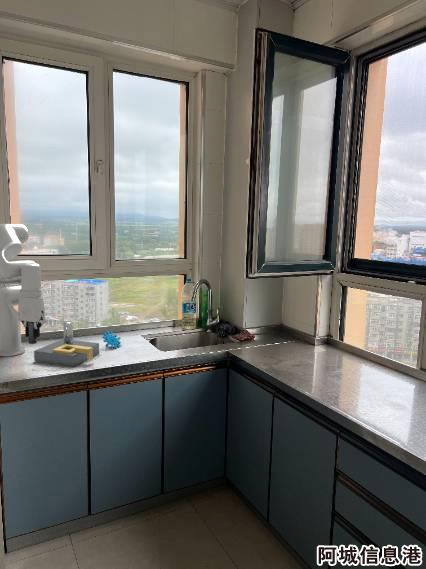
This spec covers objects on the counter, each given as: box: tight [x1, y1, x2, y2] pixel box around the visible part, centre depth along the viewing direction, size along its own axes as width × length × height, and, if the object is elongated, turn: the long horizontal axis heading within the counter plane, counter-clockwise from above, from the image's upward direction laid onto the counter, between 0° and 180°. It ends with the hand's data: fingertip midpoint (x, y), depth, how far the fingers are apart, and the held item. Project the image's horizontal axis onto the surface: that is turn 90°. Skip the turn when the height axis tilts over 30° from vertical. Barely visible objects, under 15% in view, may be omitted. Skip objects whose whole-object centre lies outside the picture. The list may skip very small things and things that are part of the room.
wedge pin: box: [27, 321, 38, 345], centre depth 177 cm, size 3×3×12 cm
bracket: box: [53, 344, 94, 361], centre depth 188 cm, size 16×9×5 cm, turn 73°
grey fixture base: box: [33, 320, 100, 368], centre depth 193 cm, size 20×20×15 cm
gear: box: [101, 331, 122, 350], centre depth 211 cm, size 11×6×10 cm
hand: (32, 336), depth 178 cm, fingers closed on wedge pin, 3 cm apart
